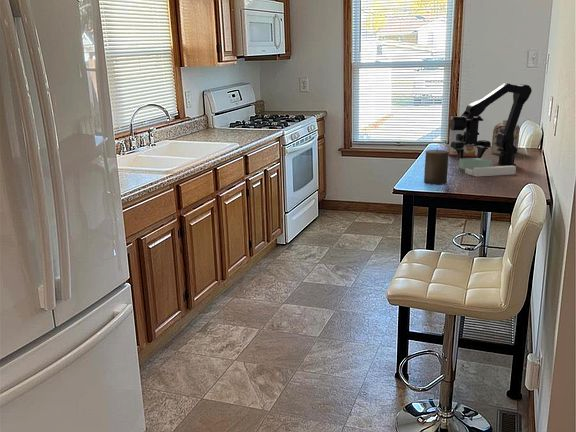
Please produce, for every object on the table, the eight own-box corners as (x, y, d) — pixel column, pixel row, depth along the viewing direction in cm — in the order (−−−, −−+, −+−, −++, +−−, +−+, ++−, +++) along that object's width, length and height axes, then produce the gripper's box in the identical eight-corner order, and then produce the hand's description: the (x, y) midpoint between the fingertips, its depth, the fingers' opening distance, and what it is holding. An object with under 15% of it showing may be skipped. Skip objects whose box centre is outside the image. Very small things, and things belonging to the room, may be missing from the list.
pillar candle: (447, 185, 242) (450, 150, 238) (424, 184, 244) (426, 149, 240) (445, 180, 251) (448, 146, 247) (423, 179, 253) (425, 146, 249)
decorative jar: (490, 153, 314) (493, 120, 309) (496, 150, 323) (499, 118, 318) (512, 155, 308) (516, 122, 303) (518, 152, 317) (521, 120, 312)
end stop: (505, 170, 271) (505, 163, 270) (516, 174, 262) (516, 166, 261) (464, 172, 266) (465, 165, 265) (474, 176, 258) (475, 169, 257)
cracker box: (475, 154, 311) (478, 116, 305) (475, 156, 305) (478, 117, 299) (448, 153, 315) (451, 115, 309) (448, 155, 310) (450, 116, 304)
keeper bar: (486, 167, 280) (487, 158, 279) (491, 169, 274) (492, 160, 273) (458, 167, 279) (459, 158, 278) (463, 170, 274) (463, 160, 272)
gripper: (480, 127, 287) (478, 158, 291) (446, 128, 283) (444, 159, 287) (492, 130, 276) (489, 161, 281) (457, 131, 273) (455, 163, 277)
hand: (469, 161), depth 282 cm, fingers open, 9 cm apart
